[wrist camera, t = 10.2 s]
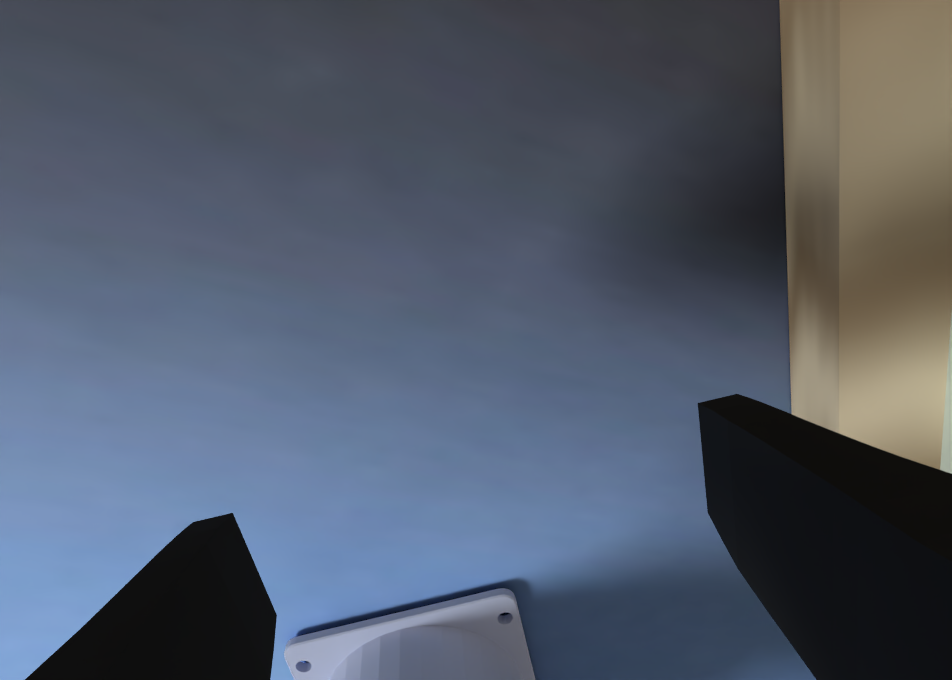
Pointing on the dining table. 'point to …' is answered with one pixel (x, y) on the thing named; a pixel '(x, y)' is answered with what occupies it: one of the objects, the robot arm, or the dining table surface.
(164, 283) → the dining table surface
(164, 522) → the dining table surface
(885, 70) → the shelf board
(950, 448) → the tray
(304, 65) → the dining table surface
